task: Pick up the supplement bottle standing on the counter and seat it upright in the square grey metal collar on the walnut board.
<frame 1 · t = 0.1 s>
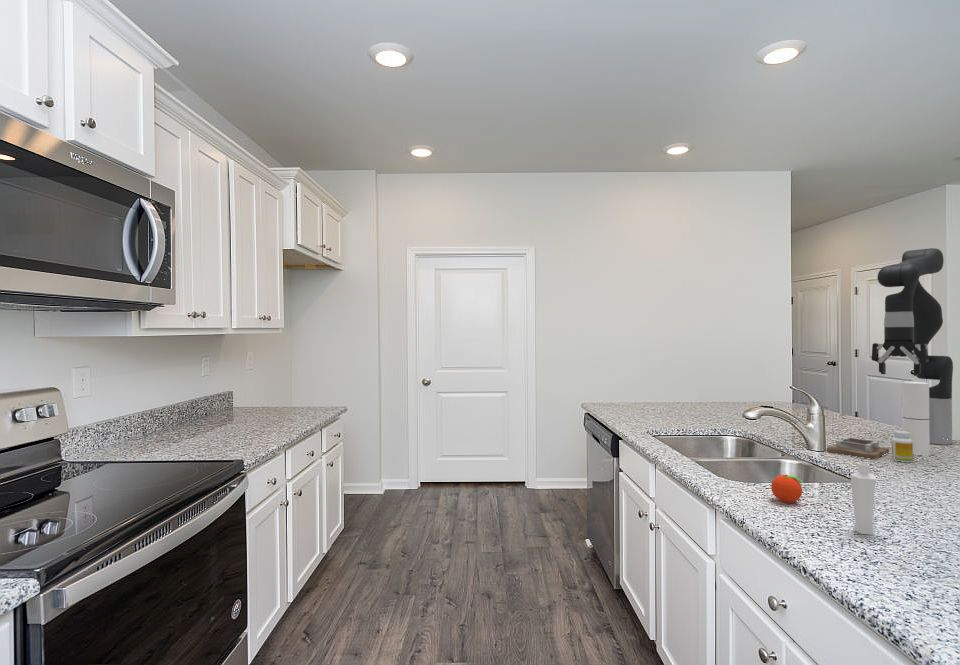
hand: (899, 374, 165), 29 cm above the counter, tool pointing down, fingers open, 8 cm apart
cylindrical container: (915, 454, 176), on the counter
clementine: (789, 503, 130), on the counter
supplement bottle: (902, 461, 167), on the counter
perfume bottle: (863, 531, 111), on the counter
socket board: (857, 452, 179), on the counter
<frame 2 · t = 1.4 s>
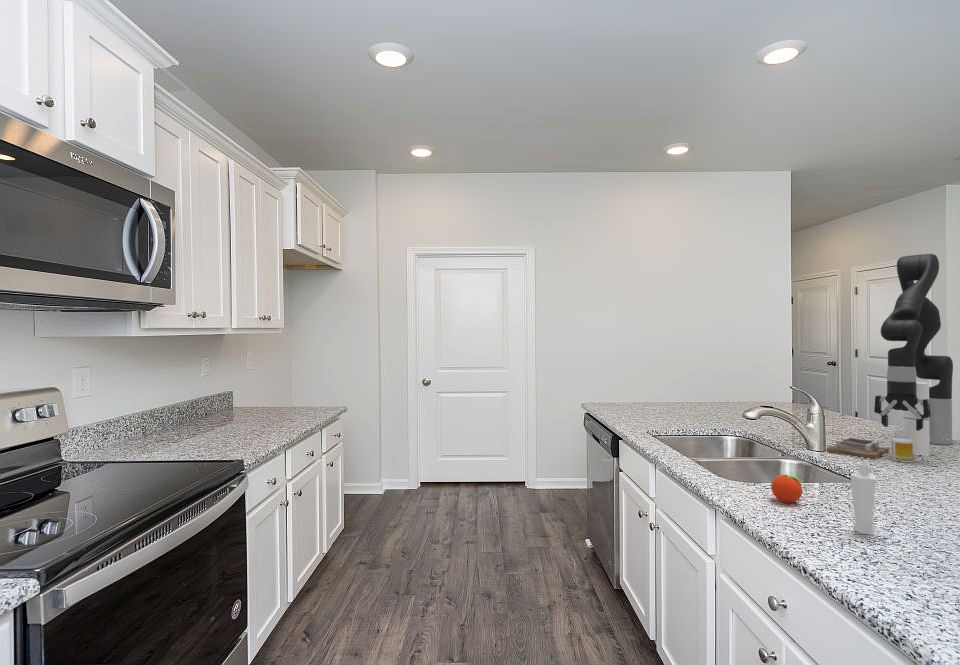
hand: (901, 428, 167), 11 cm above the counter, tool pointing down, fingers open, 8 cm apart
nothing on the counter moved.
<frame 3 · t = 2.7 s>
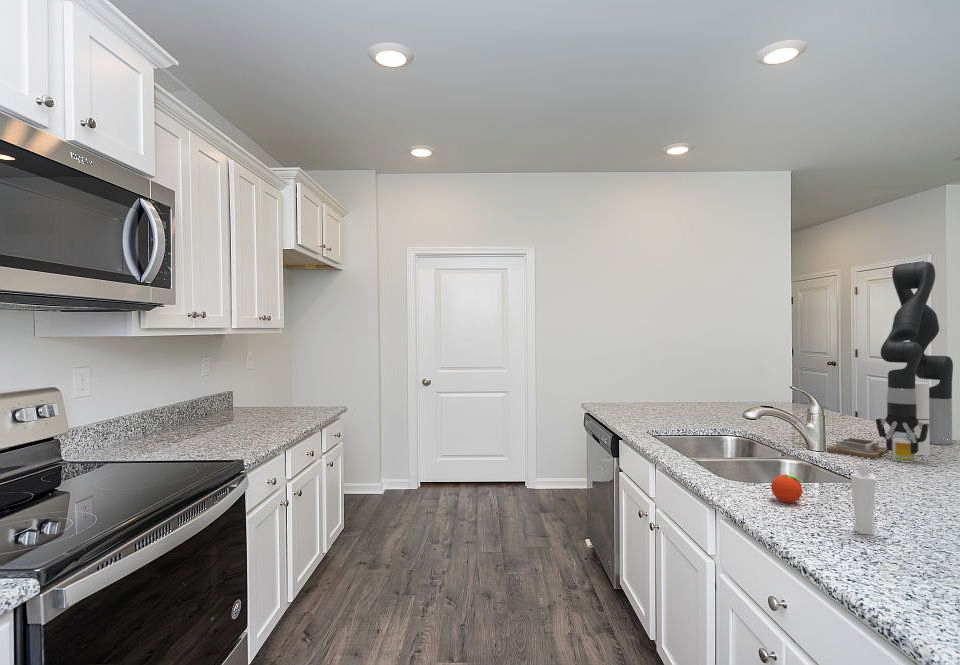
hand: (901, 451, 167), 3 cm above the counter, tool pointing down, fingers closed on supplement bottle, 5 cm apart
supplement bottle: (902, 461, 167), on the counter, touching gripper
everything else where it was.
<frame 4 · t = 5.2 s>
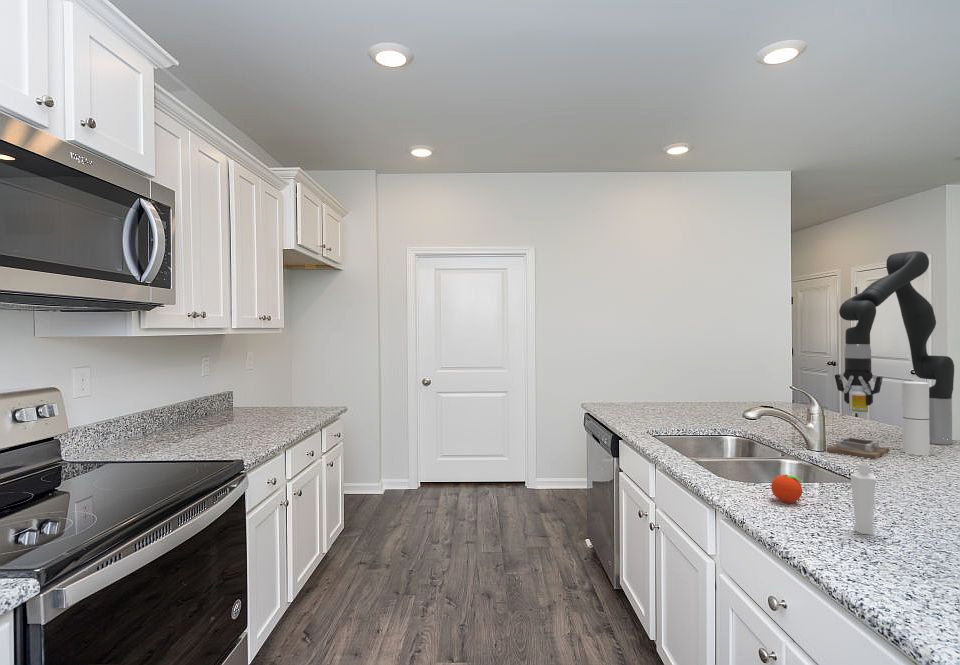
hand: (858, 404, 178), 17 cm above the counter, tool pointing down, fingers closed on supplement bottle, 5 cm apart
supplement bottle: (858, 413, 178), point 14 cm above the counter, touching gripper
everything else where it was.
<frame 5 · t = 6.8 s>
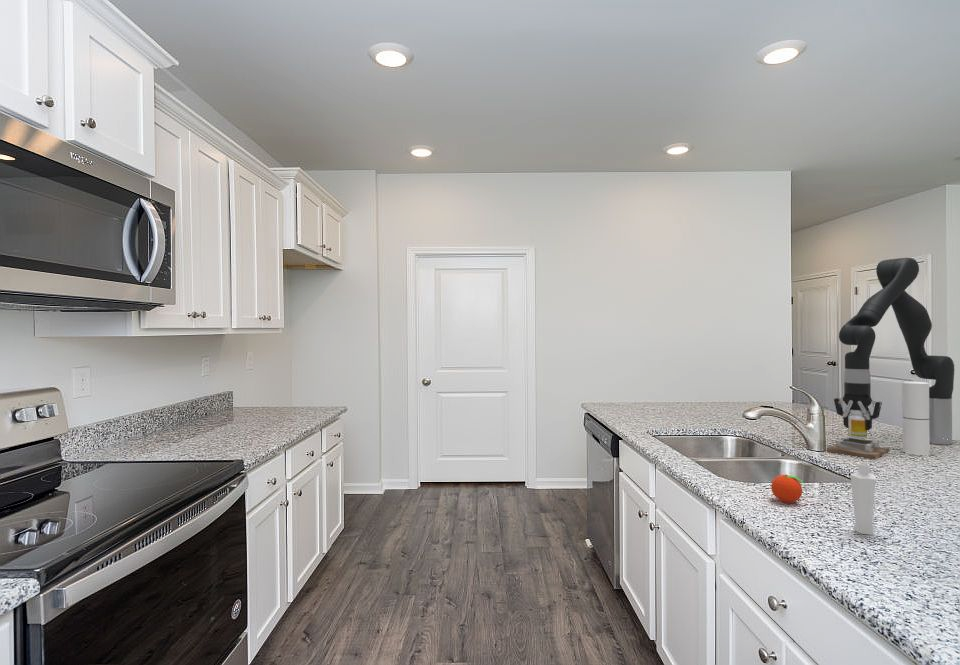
hand: (857, 428, 179), 9 cm above the counter, tool pointing down, fingers closed on supplement bottle, 5 cm apart
supplement bottle: (857, 437, 179), point 5 cm above the counter, touching gripper
everything else where it was.
when the fingers open (5 cm above the counter, at t = 7.9 s): supplement bottle stays where it is, resting on socket board.
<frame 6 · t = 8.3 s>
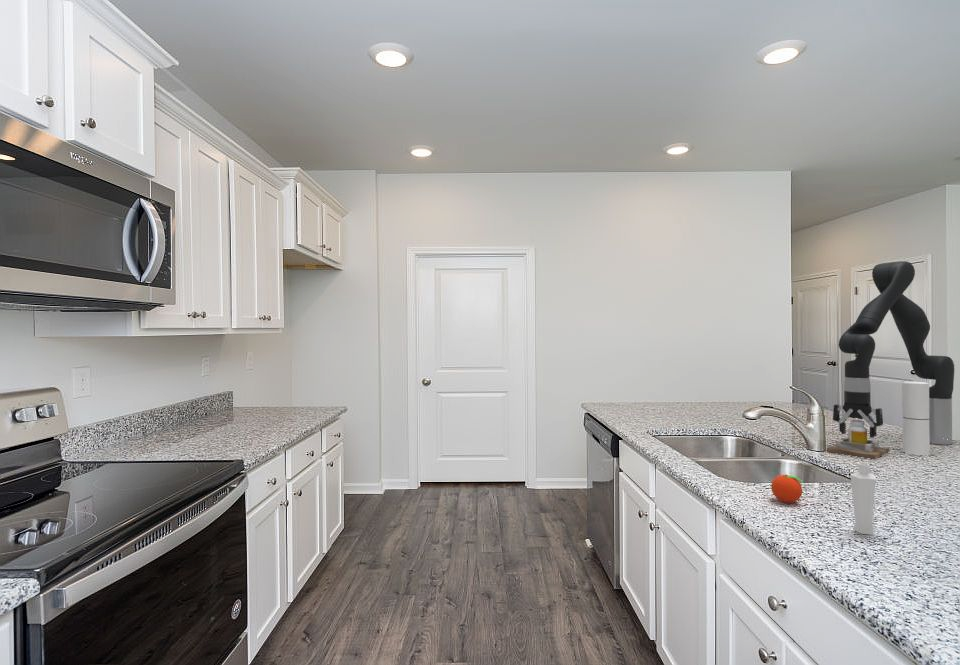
hand: (857, 435, 179), 6 cm above the counter, tool pointing down, fingers open, 8 cm apart
supplement bottle: (857, 448, 179), point 1 cm above the counter, touching socket board
everything else where it was.
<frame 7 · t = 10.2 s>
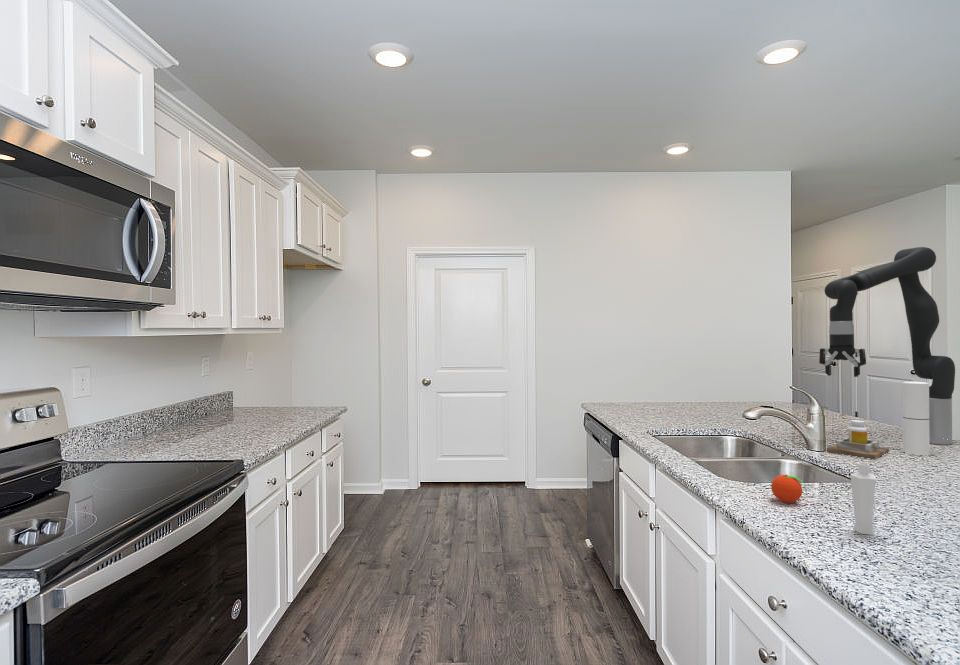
hand: (842, 376, 189), 26 cm above the counter, tool pointing down, fingers open, 8 cm apart
nothing on the counter moved.
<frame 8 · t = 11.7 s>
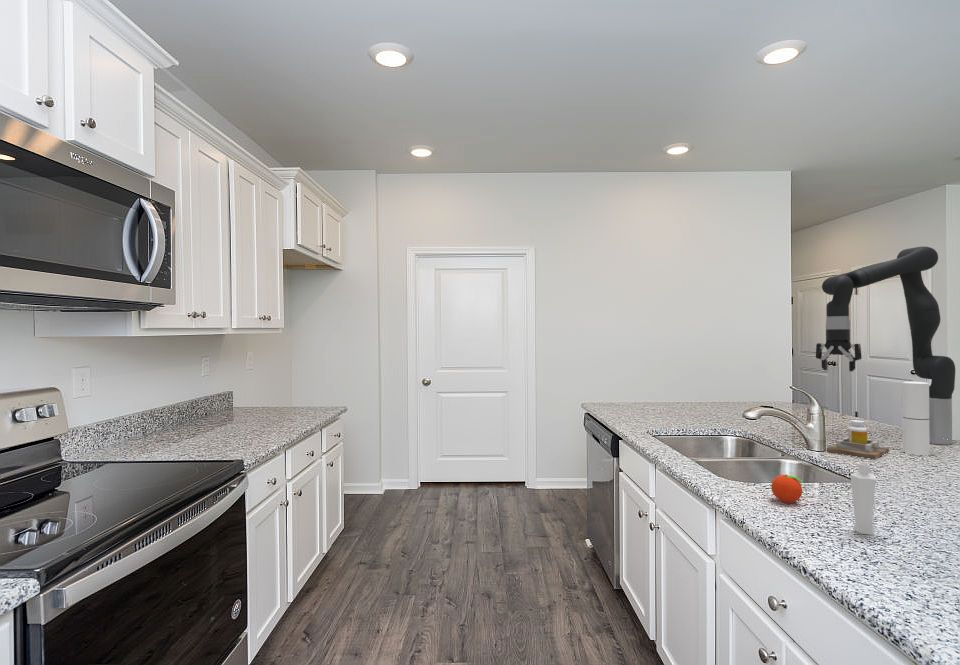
hand: (838, 370, 192), 28 cm above the counter, tool pointing down, fingers open, 8 cm apart
nothing on the counter moved.
at the end: supplement bottle 0.1 cm off-centre on the socket board, point 1.3 cm above the socket board's base; supplement bottle tilted 0°; the gripper is holding nothing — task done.
